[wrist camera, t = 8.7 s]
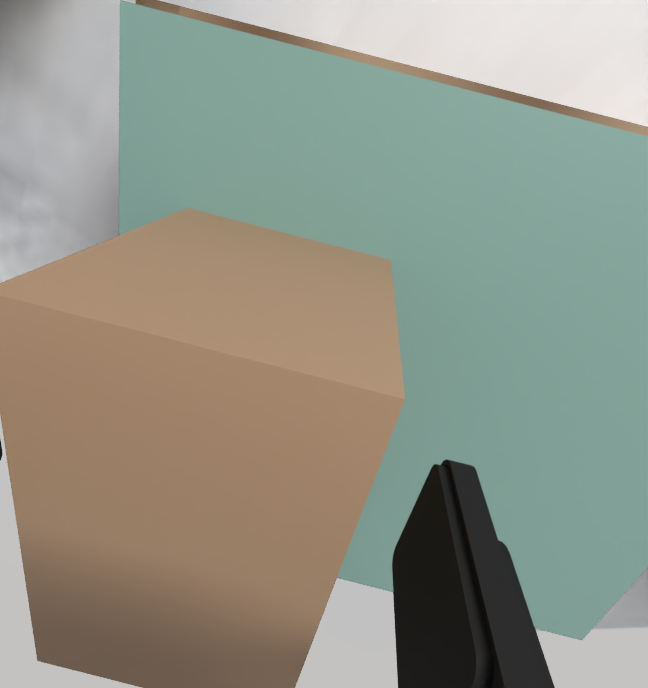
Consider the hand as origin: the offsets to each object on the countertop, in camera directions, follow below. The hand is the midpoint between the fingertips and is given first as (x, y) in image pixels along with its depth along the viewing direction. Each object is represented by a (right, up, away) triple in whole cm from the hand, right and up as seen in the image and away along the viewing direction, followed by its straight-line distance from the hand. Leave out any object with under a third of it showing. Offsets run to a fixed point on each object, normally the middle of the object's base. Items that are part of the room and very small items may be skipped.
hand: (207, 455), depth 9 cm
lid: (+5, +1, +4) cm, 7 cm away
